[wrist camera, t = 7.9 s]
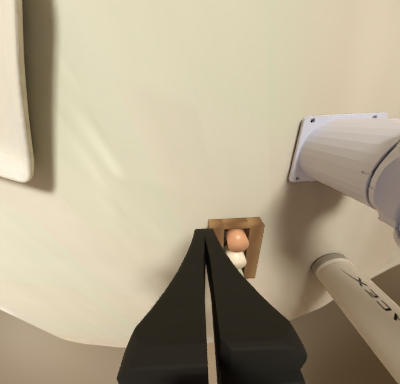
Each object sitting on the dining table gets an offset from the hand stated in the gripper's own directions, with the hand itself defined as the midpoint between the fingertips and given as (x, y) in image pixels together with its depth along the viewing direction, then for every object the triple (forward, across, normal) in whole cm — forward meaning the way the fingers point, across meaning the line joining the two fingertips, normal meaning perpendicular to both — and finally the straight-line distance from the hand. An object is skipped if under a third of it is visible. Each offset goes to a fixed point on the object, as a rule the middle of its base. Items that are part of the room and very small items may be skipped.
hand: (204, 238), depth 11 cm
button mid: (+9, -5, +12) cm, 16 cm away
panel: (+10, -5, +12) cm, 17 cm away
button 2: (+9, -5, +8) cm, 13 cm away
